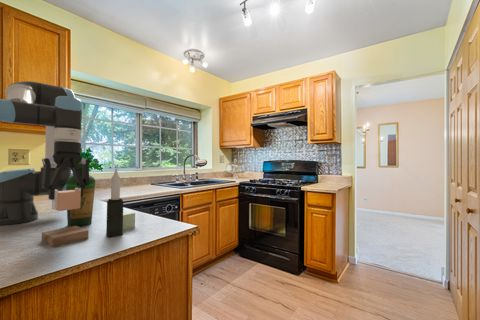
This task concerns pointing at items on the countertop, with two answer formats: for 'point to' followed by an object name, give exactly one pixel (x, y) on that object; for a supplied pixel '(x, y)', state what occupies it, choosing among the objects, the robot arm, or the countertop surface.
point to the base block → (64, 236)
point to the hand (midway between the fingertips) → (66, 207)
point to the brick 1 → (68, 200)
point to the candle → (115, 209)
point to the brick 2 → (128, 219)
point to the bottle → (81, 202)
